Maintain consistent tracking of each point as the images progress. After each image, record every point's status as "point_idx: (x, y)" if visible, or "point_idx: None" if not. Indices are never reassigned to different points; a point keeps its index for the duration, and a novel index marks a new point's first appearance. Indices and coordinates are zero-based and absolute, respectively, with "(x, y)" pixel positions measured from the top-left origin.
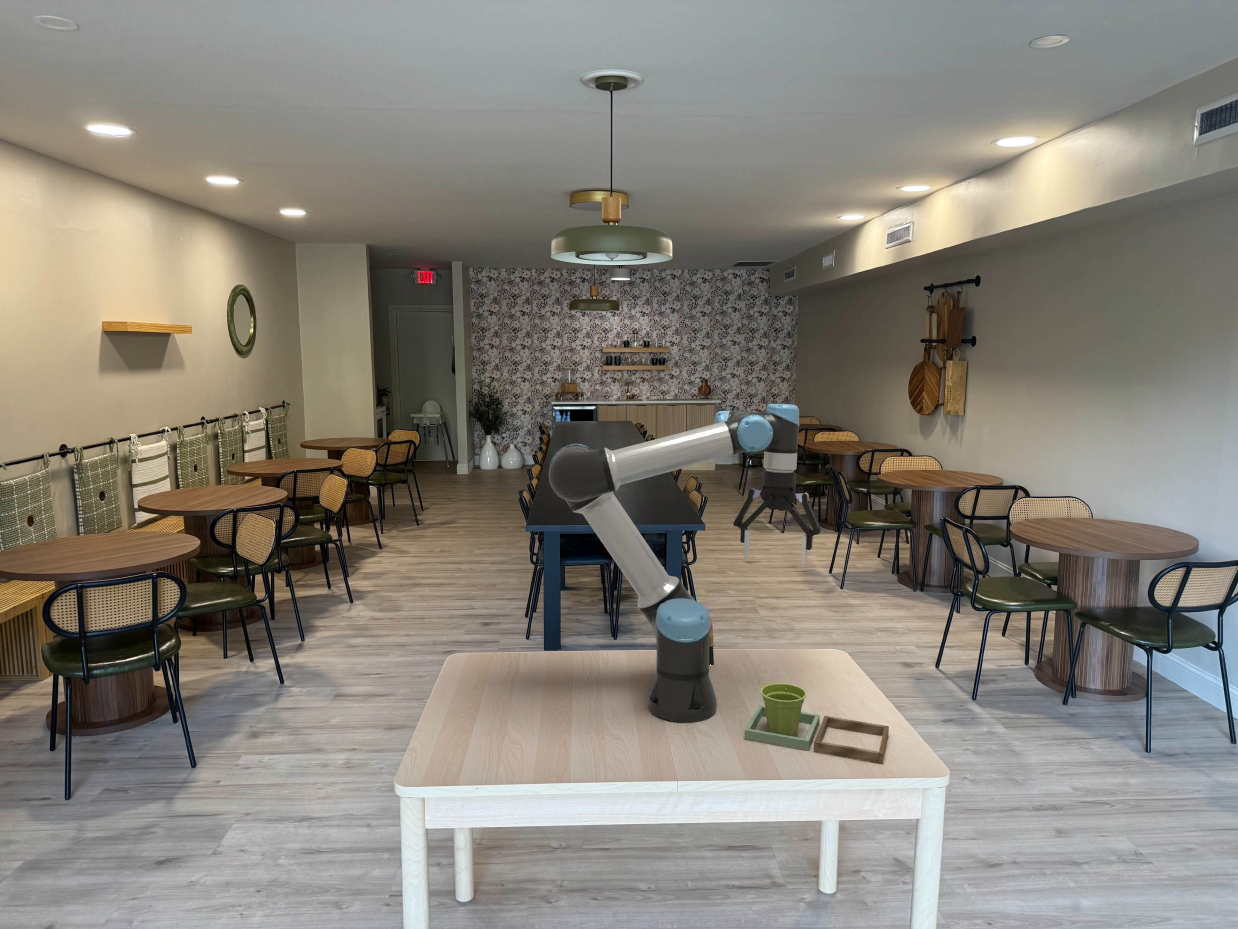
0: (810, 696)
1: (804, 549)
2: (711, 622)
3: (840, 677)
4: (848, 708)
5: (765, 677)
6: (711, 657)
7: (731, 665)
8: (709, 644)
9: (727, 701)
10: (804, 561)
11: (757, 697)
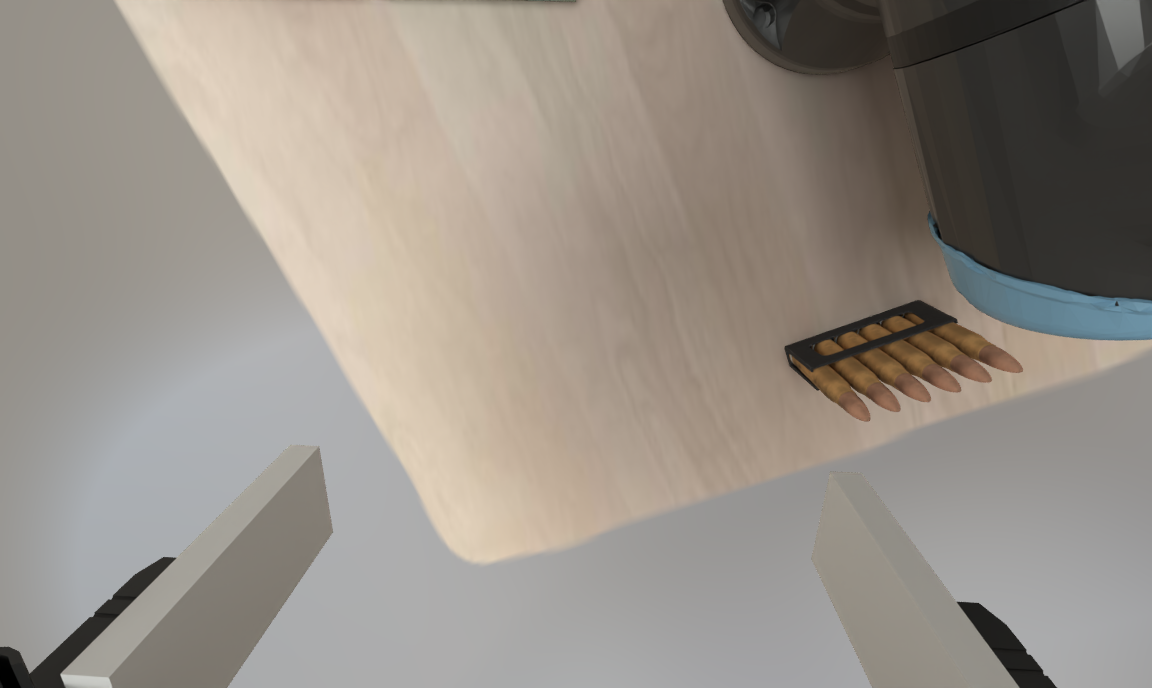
0: (454, 209)
1: (206, 538)
2: (857, 411)
3: (404, 382)
4: (330, 158)
5: (612, 308)
6: (802, 353)
7: (730, 366)
8: (827, 368)
9: (693, 67)
10: (276, 459)
11: (606, 139)
